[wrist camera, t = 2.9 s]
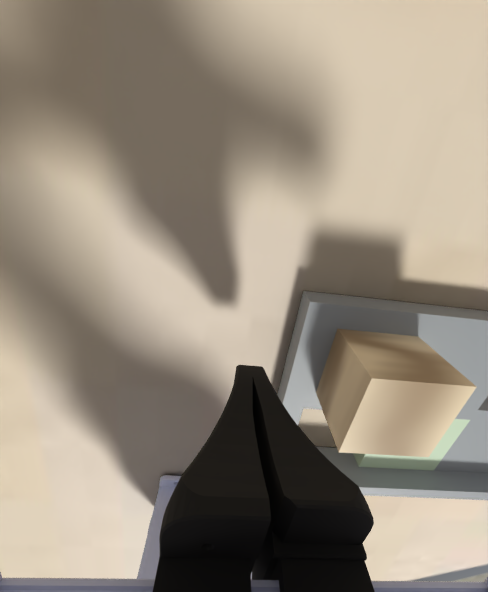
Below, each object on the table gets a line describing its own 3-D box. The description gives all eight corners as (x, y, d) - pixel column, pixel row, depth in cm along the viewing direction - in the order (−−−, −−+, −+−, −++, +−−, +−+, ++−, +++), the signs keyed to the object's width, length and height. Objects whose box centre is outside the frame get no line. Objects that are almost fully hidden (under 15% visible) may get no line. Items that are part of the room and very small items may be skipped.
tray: (262, 451, 21) (267, 491, 19) (303, 290, 15) (318, 315, 12) (517, 465, 23) (554, 502, 21) (645, 328, 17) (722, 356, 14)
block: (315, 392, 17) (338, 452, 13) (337, 328, 15) (371, 378, 11) (387, 397, 17) (428, 457, 13) (418, 336, 15) (476, 386, 11)
